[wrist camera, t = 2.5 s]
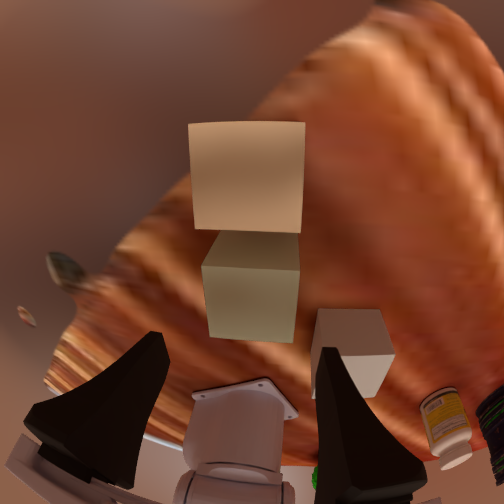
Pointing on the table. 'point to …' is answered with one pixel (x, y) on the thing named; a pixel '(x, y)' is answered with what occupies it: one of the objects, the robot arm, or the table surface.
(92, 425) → the robot arm
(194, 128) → the birch block
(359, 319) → the white cube
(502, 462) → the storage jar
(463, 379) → the table surface
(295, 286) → the sage block
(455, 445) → the supplement bottle
